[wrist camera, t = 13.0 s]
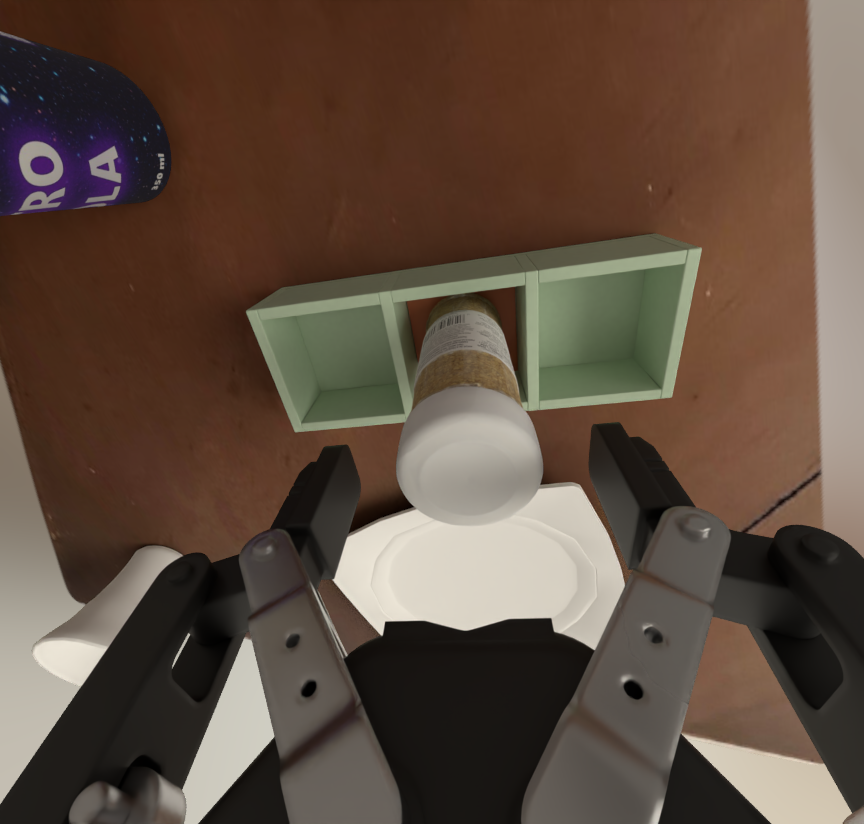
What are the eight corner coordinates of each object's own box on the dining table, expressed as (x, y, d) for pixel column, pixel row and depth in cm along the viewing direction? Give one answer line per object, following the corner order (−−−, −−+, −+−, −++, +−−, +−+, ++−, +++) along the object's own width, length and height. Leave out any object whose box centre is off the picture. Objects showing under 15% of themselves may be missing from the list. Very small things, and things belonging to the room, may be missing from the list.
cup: (118, 571, 40) (26, 679, 32) (129, 520, 35) (25, 629, 27) (202, 601, 42) (138, 709, 34) (223, 556, 37) (154, 668, 29)
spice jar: (439, 370, 25) (421, 542, 13) (415, 302, 22) (369, 438, 11) (510, 351, 24) (557, 519, 12) (492, 278, 21) (531, 400, 10)
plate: (419, 658, 46) (417, 684, 43) (303, 524, 34) (292, 549, 32) (635, 623, 39) (646, 651, 37) (581, 443, 28) (592, 467, 26)
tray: (656, 232, 20) (702, 247, 16) (638, 361, 24) (672, 398, 20) (280, 287, 23) (244, 310, 19) (318, 395, 27) (294, 432, 23)
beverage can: (75, 178, 21) (-297, 184, 11) (56, 42, 18) (-484, -131, 8) (183, 217, 21) (-68, 258, 11) (182, 93, 18) (-158, -2, 8)
